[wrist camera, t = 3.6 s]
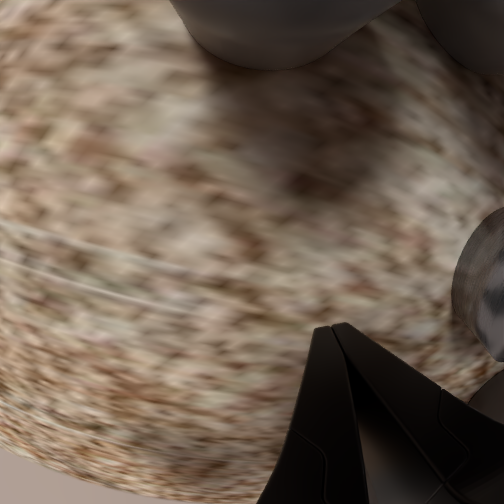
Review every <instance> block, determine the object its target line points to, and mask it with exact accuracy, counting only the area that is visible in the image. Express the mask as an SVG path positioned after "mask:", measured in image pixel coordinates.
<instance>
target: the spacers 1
mask: <svg viewBox="0 0 504 504" xmlns="http://www.w3.org/2000/svg"><path fill="white" fill-rule="evenodd" d="M400 1H402V0H170V2H171V4H172V5H173V7H174V8H175V10H176V11H177V13H178V14H179V16H180V18H181V19H182V21H183V22H184V24H185V26H186V27H187V29H188V30H189V32H190V33H191V35H192V36H193V37H194V39H195V40H196V41H197V42H198V43H199V44H200V45H201V46H202V47H203V48H205V49H206V50H207V51H208V52H210V53H212V54H213V55H215V56H216V57H218V58H220V59H222V60H224V61H226V62H229V63H232V64H234V65H237V66H241V67H245V68H250V69H256V70H285V69H290V68H296V67H299V66H303V65H306V64H308V63H310V62H313V61H315V60H317V59H319V58H320V57H322V56H324V55H325V54H326V53H328V52H329V51H330V50H332V49H333V48H334V47H336V46H337V45H338V44H339V43H341V42H342V41H344V40H345V39H346V38H348V37H349V36H350V35H352V34H353V33H354V32H356V31H357V30H359V29H360V28H361V27H363V26H364V25H366V24H367V23H369V22H370V21H371V20H373V19H374V18H376V17H377V16H379V15H380V14H382V13H383V12H385V11H386V10H388V9H389V8H391V7H392V6H394V5H395V4H397V3H398V2H400ZM416 2H417V5H418V7H419V10H420V12H421V14H422V17H423V19H424V21H425V22H426V24H427V26H428V28H429V29H430V31H431V32H432V34H433V35H434V37H435V38H436V39H437V41H438V42H439V43H440V44H441V46H442V47H443V48H444V49H445V50H446V51H447V52H448V53H449V54H450V55H451V56H452V57H453V58H454V59H455V60H456V61H458V62H459V63H460V64H462V65H463V66H464V67H466V68H468V69H470V70H472V71H474V72H476V73H480V74H484V75H496V74H504V0H416Z"/></svg>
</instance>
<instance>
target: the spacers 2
mask: <svg viewBox="0 0 504 504" xmlns="http://www.w3.org/2000/svg"><path fill="white" fill-rule="evenodd" d="M468 405H469V406H471V407H472V408H474V409H476V410H478V411H480V412H481V413H483V414H485V415H487V416H489V417H491V418H493V419H495V420H497V421H499V422H501V423H503V424H504V370H503V371H501V372H500V373H498V374H497V375H496V376H494V377H493V378H492V379H491V380H489V381H488V382H487V383H486V384H485V385H484V386H483V387H482V388H481V389H480V390H479V391H478V392H477V393H476V394H475V396H474V397H473V398H472V399H471V401H470V402H469V404H468ZM364 465H365V462H364ZM365 472H366V480H367V487H368V495H369V504H379V502H378V499H377V497H376V494H375V491H374V488H373V485H372V482H371V479H370V476H369V474H368V471H367V468H366V465H365Z"/></svg>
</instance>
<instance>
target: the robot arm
mask: <svg viewBox="0 0 504 504" xmlns="http://www.w3.org/2000/svg"><path fill="white" fill-rule="evenodd" d="M364 462H365V465H366V468H367V471H368V474H369V476H370V479H371V482H372V485H373V488H374V491H375V494H376V497H377V499H378V502H379V504H504V424H503V423H501V422H499V421H497V420H495V419H493V418H491V417H489V416H487V415H485V414H483V413H481V412H480V411H478V410H476V409H474V408H472V407H471V406H469V405H468V404H466V403H464V402H463V401H461V400H460V399H458V398H457V397H455V396H454V395H452V394H451V393H449V392H448V391H446V390H445V389H442V390H441V387H440V386H439V385H437V384H436V383H434V382H433V381H431V380H430V379H429V378H427V377H426V376H424V375H423V374H421V373H420V372H418V371H417V370H415V369H414V368H413V367H411V366H410V365H408V364H407V363H405V362H404V361H402V360H401V359H399V358H398V357H397V356H395V355H394V354H392V353H391V352H389V351H388V350H386V349H385V348H383V347H382V346H381V345H379V344H378V343H376V342H375V341H373V340H372V339H370V338H369V337H368V336H366V335H365V334H363V333H362V332H360V331H359V330H357V329H356V328H354V327H353V326H352V325H350V324H349V323H347V322H343V323H338V324H333V325H332V326H331V327H330V326H324V327H318V328H315V329H314V332H313V337H312V341H311V345H310V349H309V354H308V358H307V362H306V366H305V370H304V374H303V378H302V382H301V385H300V389H299V393H298V397H297V400H296V404H295V408H294V411H293V415H292V418H291V422H290V425H289V430H288V431H287V435H286V438H285V441H284V444H283V447H282V450H281V453H280V456H279V458H278V461H277V464H276V466H275V468H274V470H273V472H272V474H271V477H270V479H269V481H268V483H267V485H266V487H265V489H264V490H263V492H262V494H261V496H260V498H259V499H258V501H257V503H256V504H369V495H368V487H367V480H366V472H365V465H364Z"/></svg>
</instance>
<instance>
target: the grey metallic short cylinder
mask: <svg viewBox="0 0 504 504" xmlns="http://www.w3.org/2000/svg"><path fill="white" fill-rule="evenodd" d="M452 303H453V307H454V310H455V312H456V314H457V315H458V316H459V317H460V318H461V320H462V321H463V322H464V323H465V324H466V325H467V327H468V328H469V329H470V330H471V331H472V332H473V334H474V335H475V336H476V337H477V338H478V340H479V341H480V342H481V343H482V344H483V346H484V347H485V348H486V349H487V351H488V352H489V353H490V354H491V356H492V357H493V358H494V359H495V360H496V361H499V362H504V207H503V208H500V209H498V210H496V211H494V212H493V213H491V214H490V215H489V216H488V217H486V218H485V219H484V220H483V221H482V222H481V223H480V225H479V226H478V227H477V228H476V229H475V231H474V232H473V233H472V235H471V237H470V238H469V240H468V241H467V243H466V245H465V247H464V249H463V251H462V253H461V255H460V258H459V260H458V263H457V266H456V269H455V273H454V277H453V282H452Z"/></svg>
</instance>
